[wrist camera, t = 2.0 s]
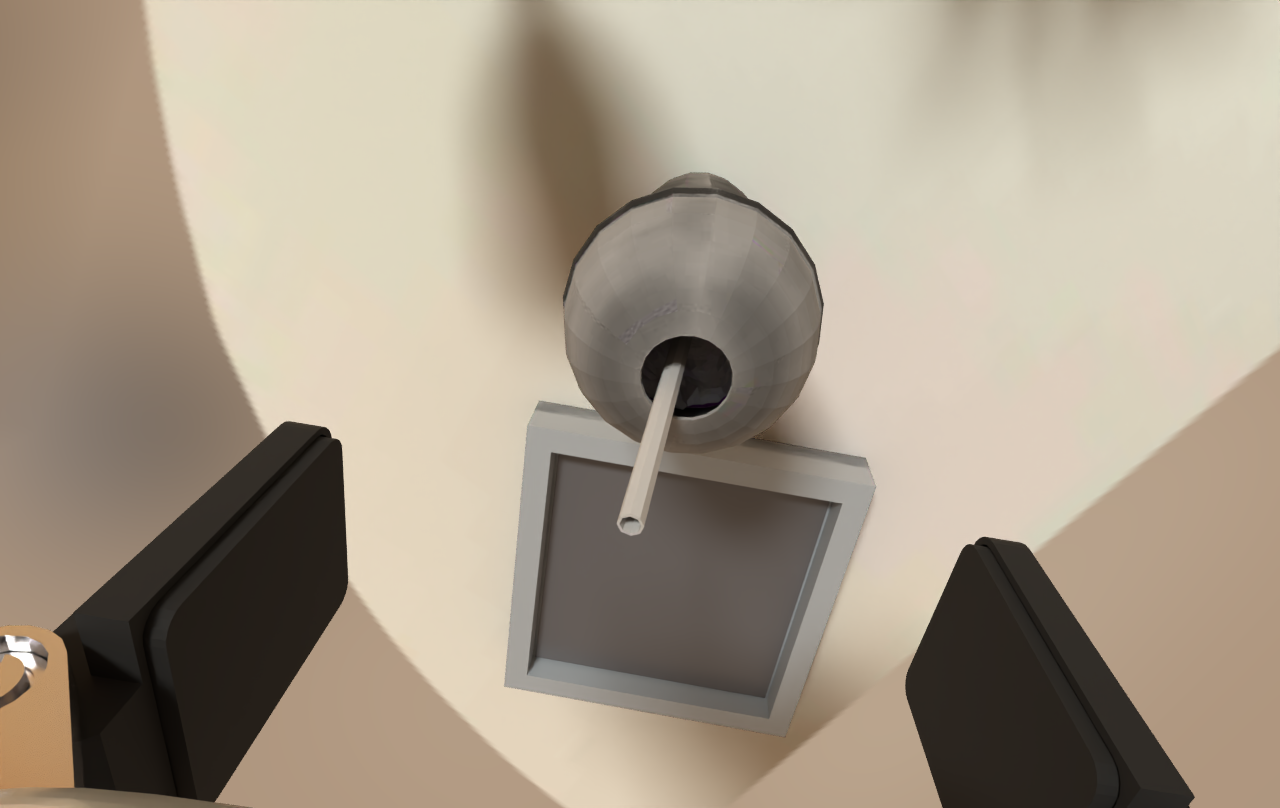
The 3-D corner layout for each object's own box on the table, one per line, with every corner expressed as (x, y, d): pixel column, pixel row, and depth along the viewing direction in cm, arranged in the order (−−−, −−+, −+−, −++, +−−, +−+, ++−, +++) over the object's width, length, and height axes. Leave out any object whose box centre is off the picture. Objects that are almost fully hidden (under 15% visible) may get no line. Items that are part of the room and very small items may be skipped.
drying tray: (865, 458, 34) (876, 486, 32) (781, 700, 42) (785, 737, 40) (539, 400, 35) (527, 425, 32) (515, 652, 42) (504, 686, 40)
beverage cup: (821, 230, 30) (986, 503, 12) (693, 341, 32) (673, 699, 15) (702, 95, 28) (686, 181, 10) (577, 225, 31) (390, 474, 13)
